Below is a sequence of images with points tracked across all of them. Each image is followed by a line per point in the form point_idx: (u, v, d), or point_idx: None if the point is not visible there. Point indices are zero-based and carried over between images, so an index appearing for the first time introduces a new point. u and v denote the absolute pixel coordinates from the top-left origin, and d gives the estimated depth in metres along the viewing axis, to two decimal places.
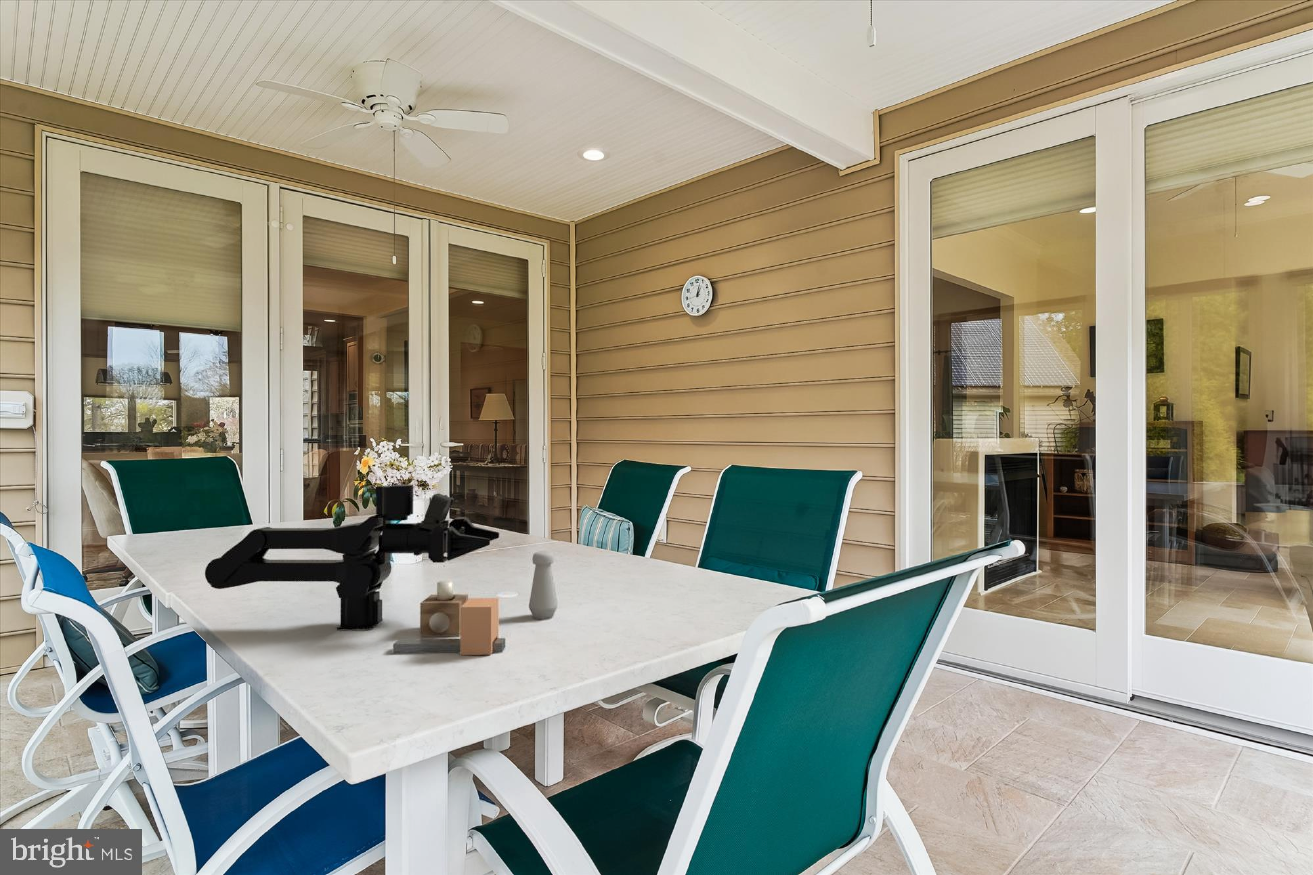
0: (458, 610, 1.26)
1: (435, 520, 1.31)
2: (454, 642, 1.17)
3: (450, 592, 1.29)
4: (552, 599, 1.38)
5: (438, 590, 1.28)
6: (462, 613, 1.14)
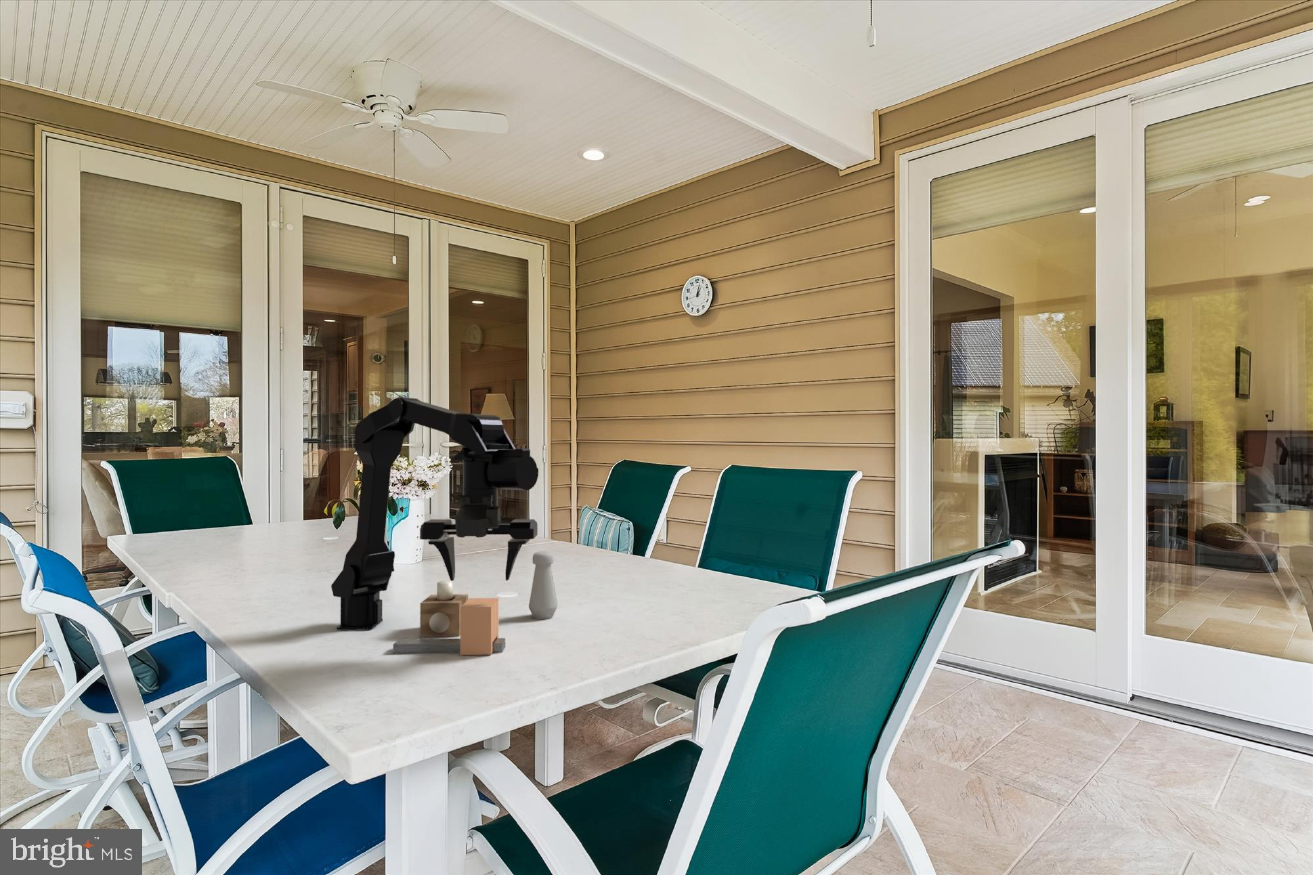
0: (458, 610, 1.26)
1: None
2: (454, 642, 1.17)
3: (450, 592, 1.29)
4: (552, 599, 1.38)
5: (438, 590, 1.28)
6: (462, 613, 1.14)
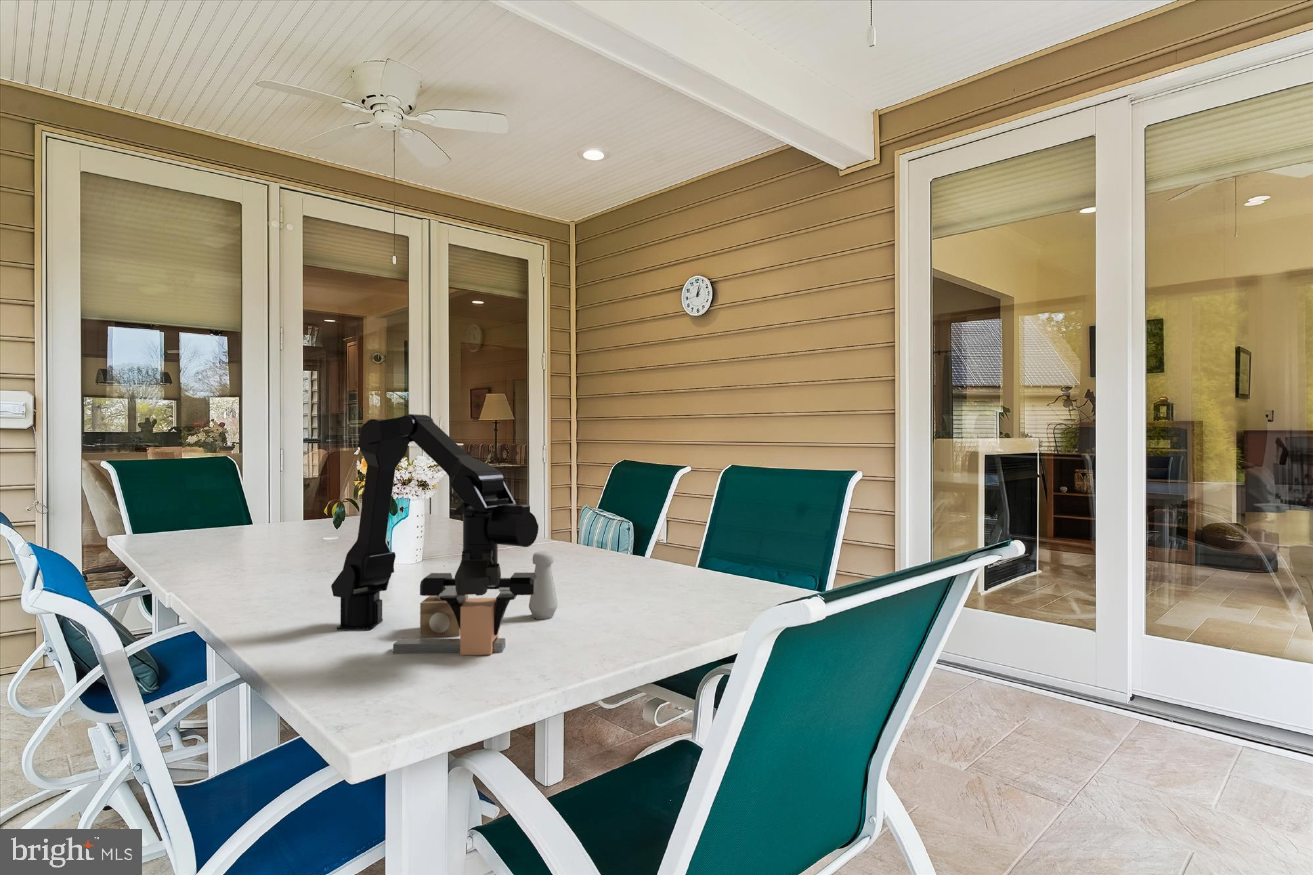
0: None
1: None
2: (454, 642, 1.17)
3: None
4: (552, 599, 1.38)
5: None
6: (462, 613, 1.14)
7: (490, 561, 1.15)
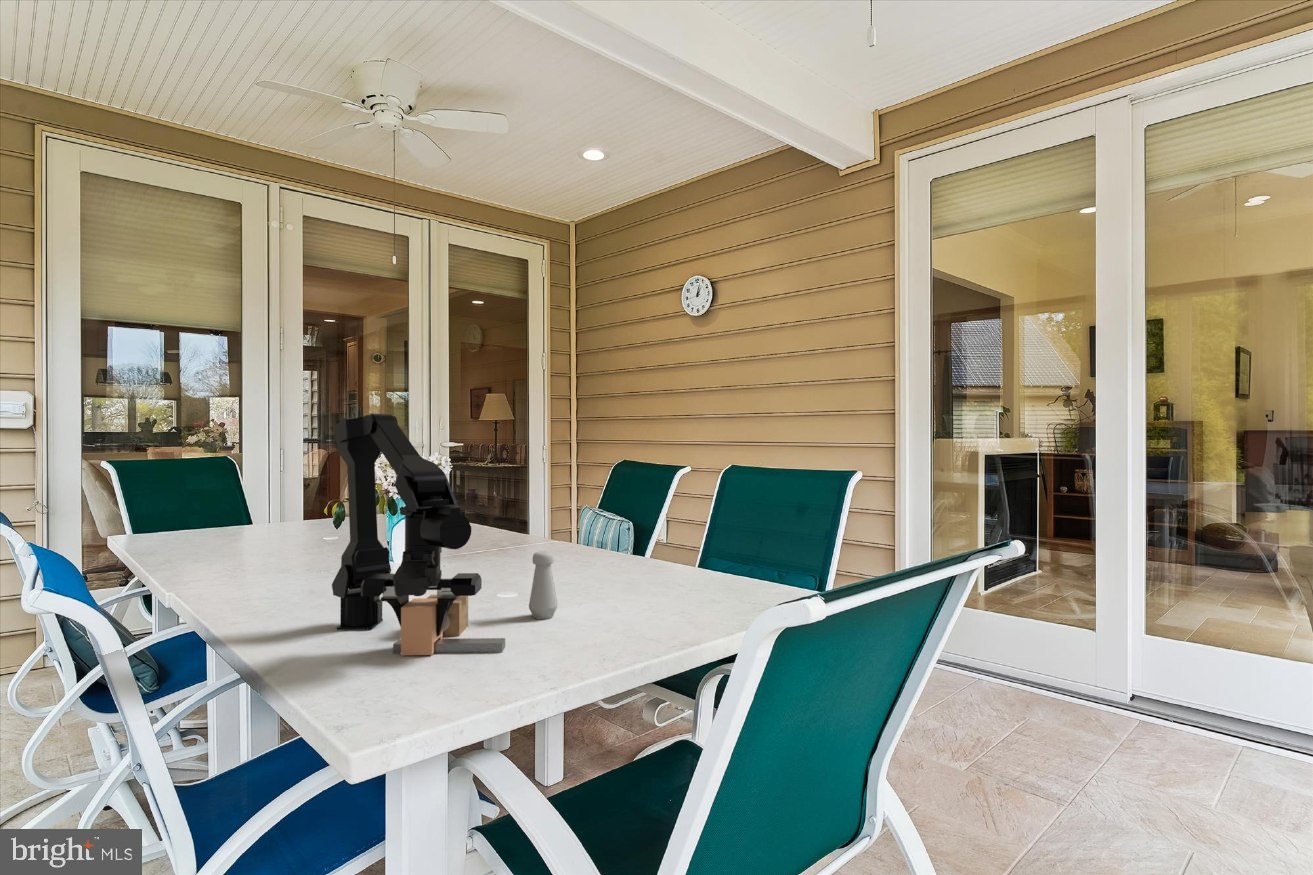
0: (458, 610, 1.26)
1: None
2: (454, 642, 1.17)
3: None
4: (552, 599, 1.38)
5: (438, 590, 1.28)
6: (403, 613, 1.14)
7: (431, 562, 1.14)
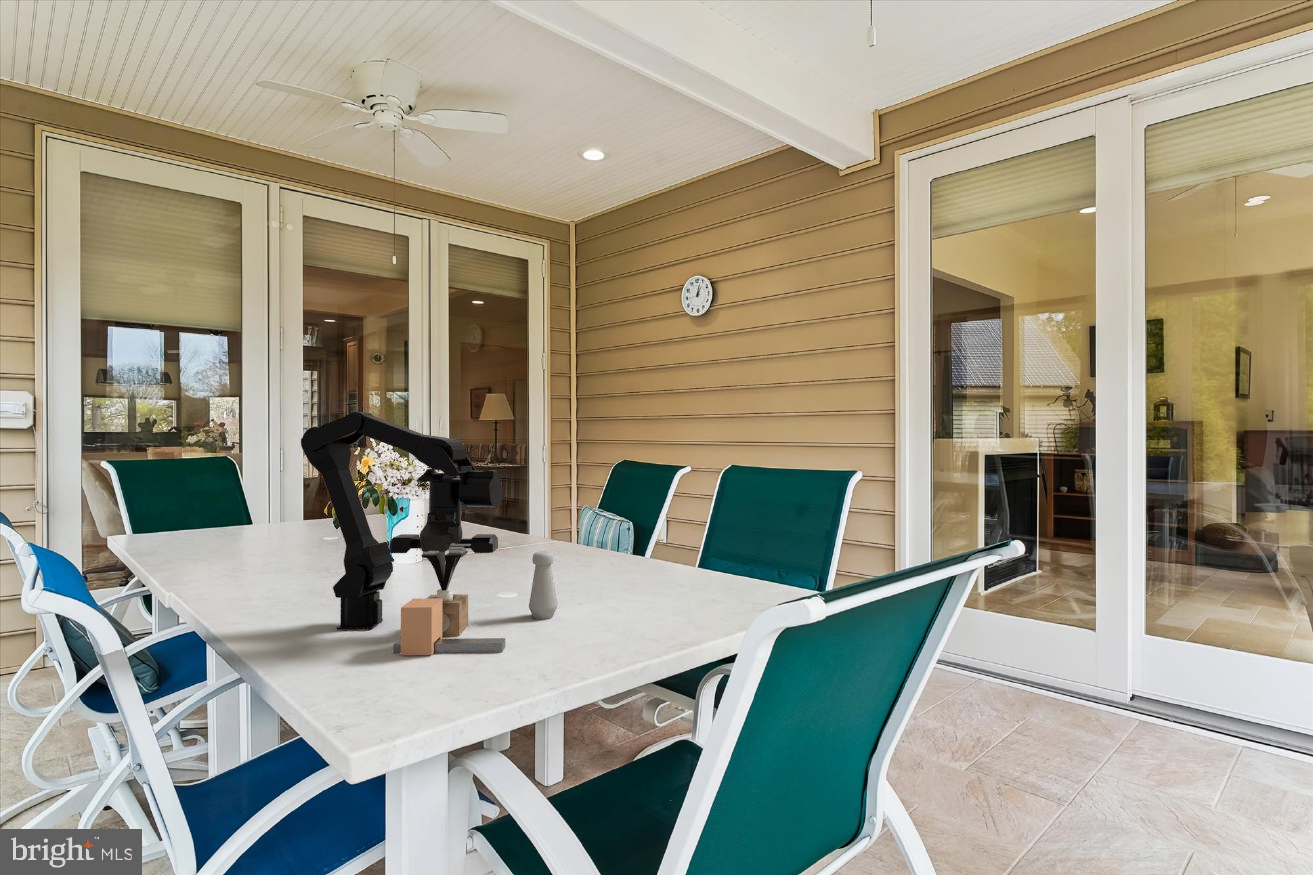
0: (458, 610, 1.26)
1: None
2: (454, 642, 1.17)
3: (450, 600, 1.29)
4: (552, 599, 1.38)
5: None
6: (402, 613, 1.14)
7: (453, 522, 1.26)
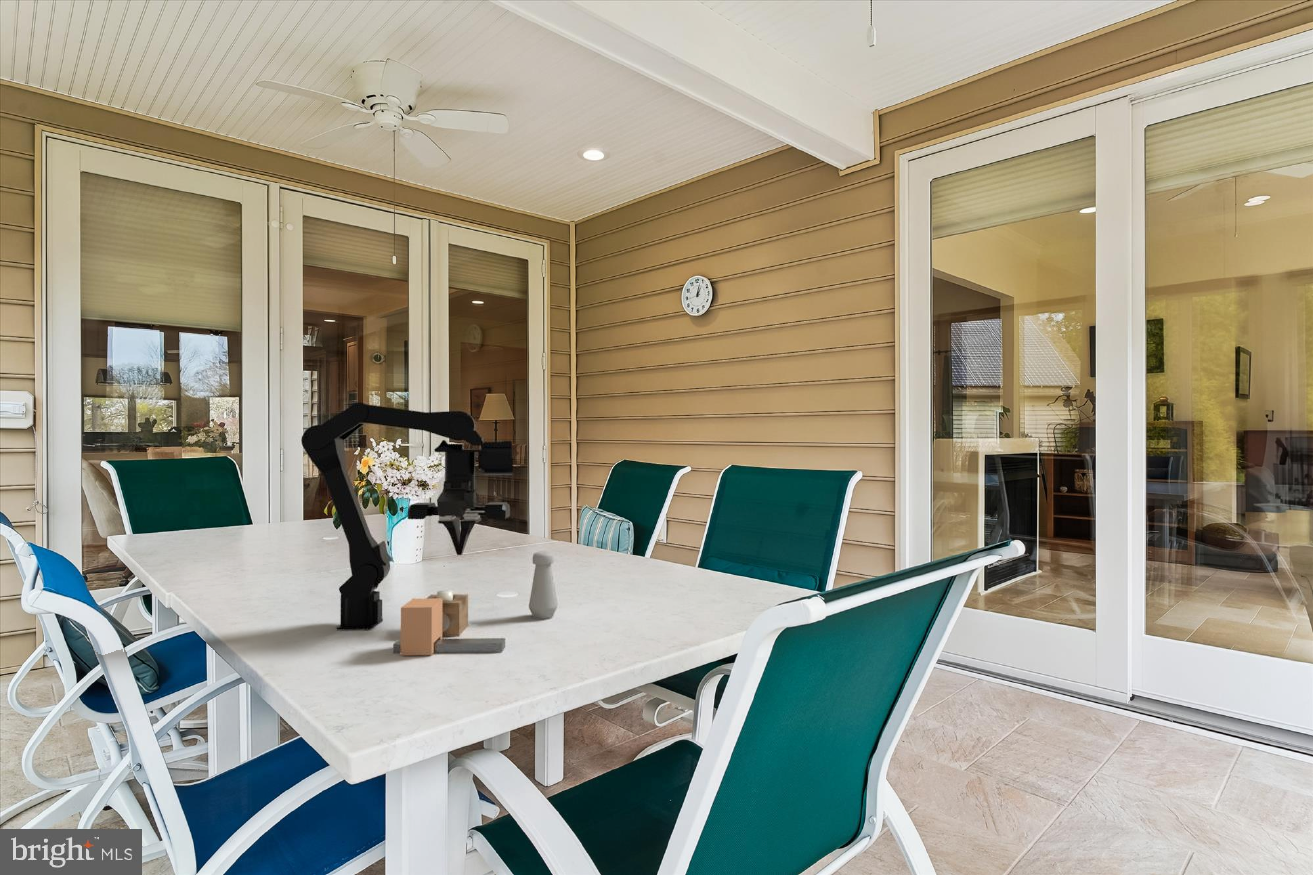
0: (458, 610, 1.26)
1: None
2: (454, 642, 1.17)
3: None
4: (552, 599, 1.38)
5: None
6: (402, 613, 1.14)
7: (468, 490, 1.33)
